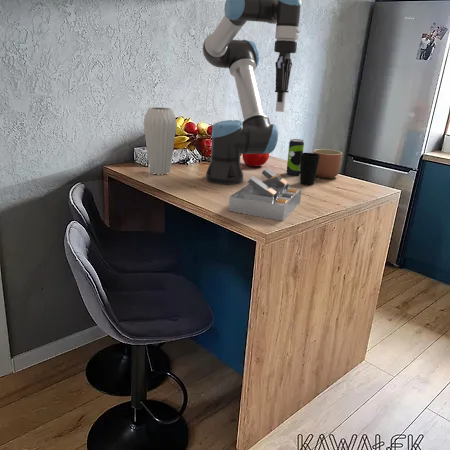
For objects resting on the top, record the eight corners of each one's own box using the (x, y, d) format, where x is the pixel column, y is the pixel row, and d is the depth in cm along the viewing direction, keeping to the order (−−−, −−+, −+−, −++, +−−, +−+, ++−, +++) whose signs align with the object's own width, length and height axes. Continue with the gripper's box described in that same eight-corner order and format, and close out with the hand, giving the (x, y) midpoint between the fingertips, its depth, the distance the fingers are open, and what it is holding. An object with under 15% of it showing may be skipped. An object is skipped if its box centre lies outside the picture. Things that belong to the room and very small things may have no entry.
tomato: (243, 162, 220) (244, 139, 216) (268, 164, 218) (270, 141, 215) (240, 168, 207) (241, 144, 203) (267, 170, 206) (269, 146, 202)
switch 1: (254, 190, 151) (252, 185, 151) (258, 187, 155) (256, 182, 154) (278, 181, 147) (276, 175, 147) (281, 179, 150) (279, 173, 150)
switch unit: (228, 211, 147) (230, 192, 145) (251, 195, 166) (252, 177, 164) (282, 221, 141) (284, 200, 139) (300, 202, 160) (302, 184, 158)
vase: (154, 168, 198) (153, 105, 189) (181, 172, 194) (182, 108, 185) (137, 174, 187) (136, 108, 178) (166, 178, 182) (167, 111, 173)
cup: (316, 187, 182) (319, 157, 178) (297, 185, 183) (300, 155, 179) (316, 182, 189) (320, 153, 185) (297, 180, 190) (301, 151, 186)
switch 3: (261, 173, 156) (264, 169, 155) (264, 171, 159) (267, 167, 158) (282, 188, 155) (285, 184, 154) (285, 186, 158) (288, 182, 157)
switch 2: (247, 182, 144) (250, 177, 143) (251, 180, 147) (254, 175, 146) (270, 199, 143) (273, 194, 142) (273, 196, 146) (277, 191, 145)
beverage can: (296, 172, 204) (300, 138, 199) (303, 175, 199) (306, 141, 194) (283, 172, 202) (287, 138, 197) (290, 176, 197) (293, 141, 192)
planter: (307, 177, 196) (310, 152, 192) (313, 171, 207) (316, 147, 203) (337, 181, 192) (340, 155, 188) (341, 175, 203) (344, 151, 199)
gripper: (291, 39, 148) (285, 113, 156) (301, 41, 160) (294, 110, 168) (269, 38, 151) (264, 112, 159) (280, 41, 162) (275, 109, 170)
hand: (279, 111), depth 163 cm, fingers closed
